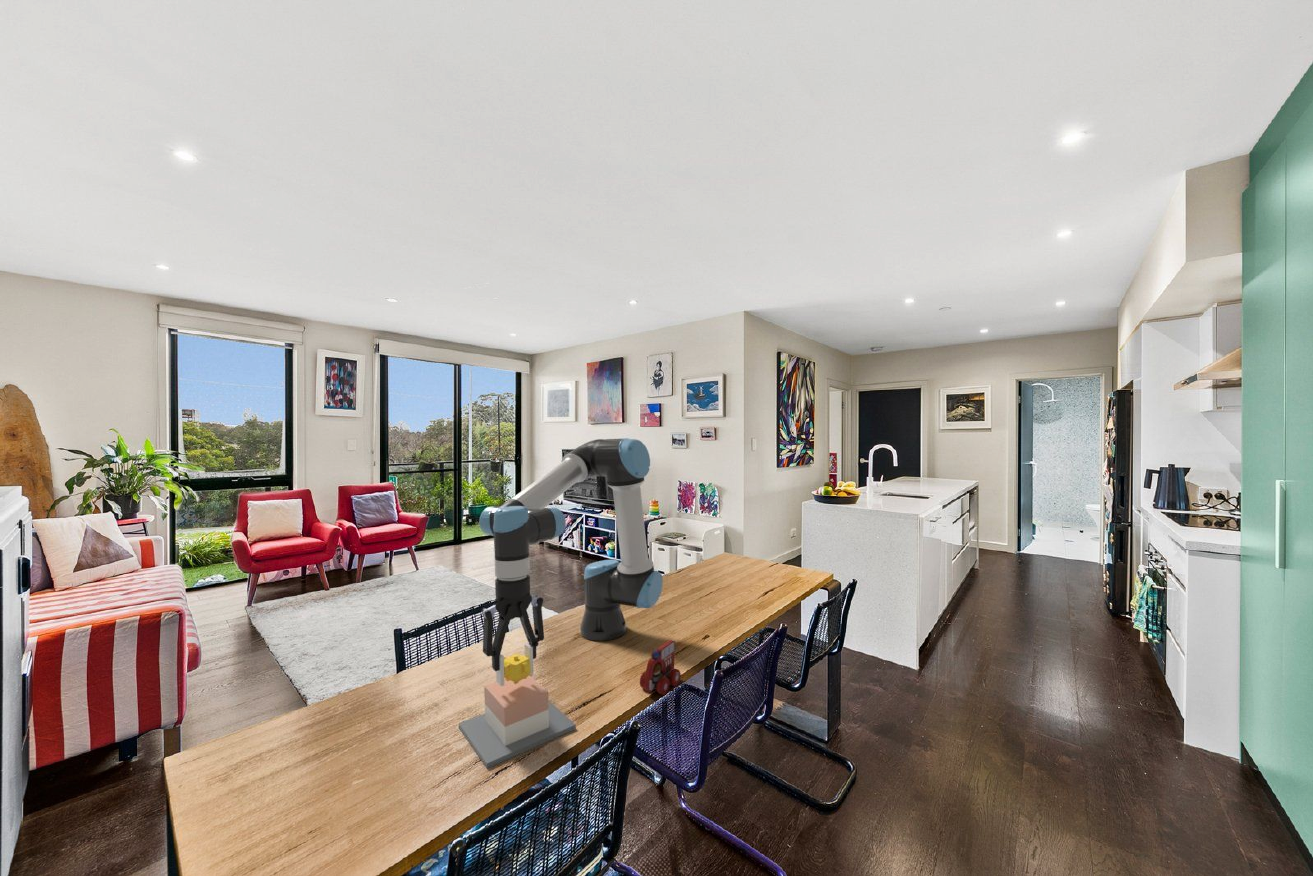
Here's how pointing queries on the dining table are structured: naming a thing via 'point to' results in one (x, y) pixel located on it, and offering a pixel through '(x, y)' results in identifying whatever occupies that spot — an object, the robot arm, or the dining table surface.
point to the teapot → (516, 668)
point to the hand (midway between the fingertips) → (515, 678)
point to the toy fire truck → (661, 670)
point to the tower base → (505, 752)
